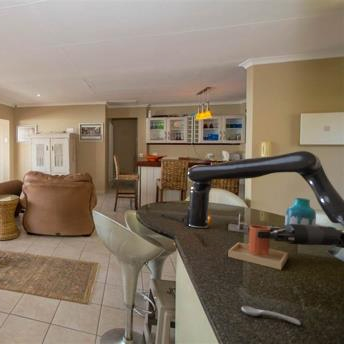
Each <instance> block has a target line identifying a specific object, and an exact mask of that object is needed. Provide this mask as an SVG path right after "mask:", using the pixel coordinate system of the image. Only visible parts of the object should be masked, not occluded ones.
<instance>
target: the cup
mask: <svg viewBox="0 0 344 344" xmlns="http://www.w3.org/2000/svg"><path fill="white" fill-rule="evenodd" d="M261 225H262V224H250V225H248V226H249V233H248V243H247V244H248V251H249V252H250V253H253V254H257V255H269V249H270V244H271V243H270V242H271V239H269V238H258V237H257V232H269V233H270V230H271V228H269V227H266V226H261Z"/></svg>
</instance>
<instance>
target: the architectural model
mask: <svg viewBox="0 0 344 344" xmlns="http://www.w3.org/2000/svg"><path fill="white" fill-rule="evenodd" d="M249 226H250V225H248V221H247V220H245V214H239V216H238V224H236V223H235V224H234V223H228V226H227V230H228V231H232V232H240V233H244V234H245V233H247V234H249V232H248V227H249Z"/></svg>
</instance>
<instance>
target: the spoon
mask: <svg viewBox="0 0 344 344" xmlns="http://www.w3.org/2000/svg"><path fill="white" fill-rule="evenodd" d="M241 311H242V312H243V313H245V314H247V315H249V316H252V317H257V316H260V315H267V316H268V315H269V316H273V317H274V318H275V317H276V318H279V319H282V320H285V321H287V322H289V323H292V324H294V325H296V326H301V325H302V324H301V321H300V320H298V318H294V317H292V316H288V315H286V314H282V313H279V312H275V311H270V310H265V309H257V308H255V307H253V306H248V305H242V306H241Z"/></svg>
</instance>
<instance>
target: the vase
mask: <svg viewBox="0 0 344 344" xmlns="http://www.w3.org/2000/svg"><path fill="white" fill-rule="evenodd" d="M316 222H317V213H316V210H315V208H312V207H311V200H310V199H309V198H304V197H294V199H293V204H292V205H290V206H288V207H287V209H286V212H285V219H284V226H285V225H286V224H305V225H314V226H316V224H317V223H316Z"/></svg>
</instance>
